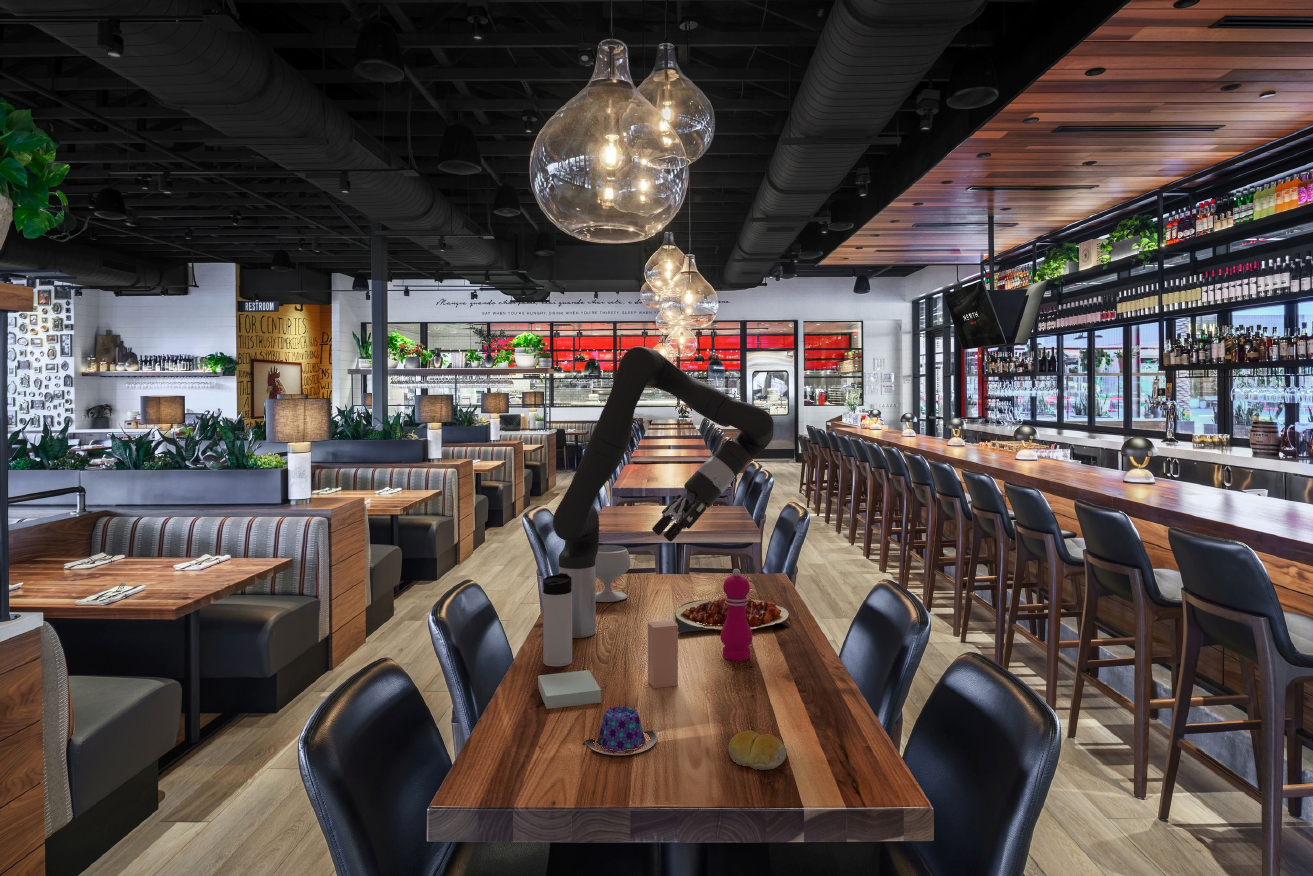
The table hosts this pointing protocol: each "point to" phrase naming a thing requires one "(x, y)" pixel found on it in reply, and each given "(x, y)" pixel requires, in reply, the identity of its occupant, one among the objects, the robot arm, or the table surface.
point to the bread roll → (757, 750)
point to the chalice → (611, 570)
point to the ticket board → (569, 689)
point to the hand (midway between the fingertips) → (660, 535)
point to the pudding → (621, 731)
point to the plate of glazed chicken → (718, 611)
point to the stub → (662, 654)
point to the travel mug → (557, 620)
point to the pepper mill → (736, 619)
